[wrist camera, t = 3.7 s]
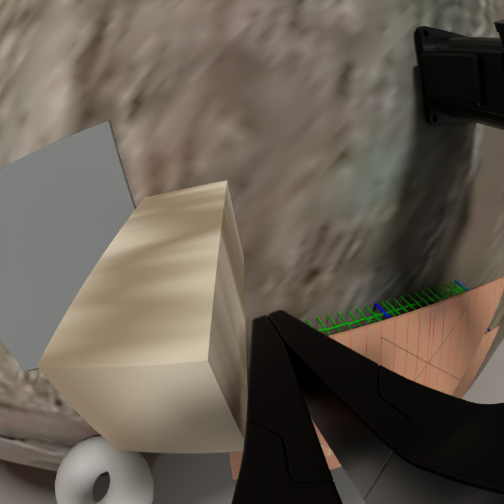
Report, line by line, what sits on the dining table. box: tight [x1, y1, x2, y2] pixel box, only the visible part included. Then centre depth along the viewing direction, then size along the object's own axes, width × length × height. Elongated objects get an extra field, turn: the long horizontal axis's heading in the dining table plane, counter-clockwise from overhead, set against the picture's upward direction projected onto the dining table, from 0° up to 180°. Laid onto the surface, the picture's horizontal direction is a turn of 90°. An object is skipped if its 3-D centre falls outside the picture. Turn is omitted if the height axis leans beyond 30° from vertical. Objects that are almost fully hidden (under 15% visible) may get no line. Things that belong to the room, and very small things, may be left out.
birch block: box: [37, 180, 248, 453], centre depth 10 cm, size 4×4×10 cm
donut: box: [55, 436, 154, 504], centre depth 17 cm, size 10×3×10 cm, turn 111°
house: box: [229, 277, 504, 480], centre depth 25 cm, size 23×33×8 cm
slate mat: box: [0, 121, 136, 371], centre depth 14 cm, size 12×12×1 cm
